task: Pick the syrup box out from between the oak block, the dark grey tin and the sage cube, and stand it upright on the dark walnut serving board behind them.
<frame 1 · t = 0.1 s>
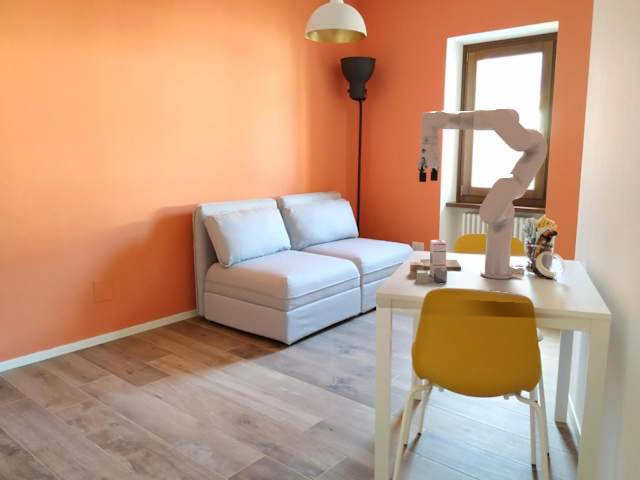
hand: (428, 181, 227), 37 cm above the table, tool pointing down, fingers open, 9 cm apart
sage cube: (422, 281, 204), on the table
syrup box: (437, 276, 214), on the table
walnut board: (440, 266, 230), on the table
grey tin: (440, 281, 204), on the table
oak block: (416, 275, 214), on the table
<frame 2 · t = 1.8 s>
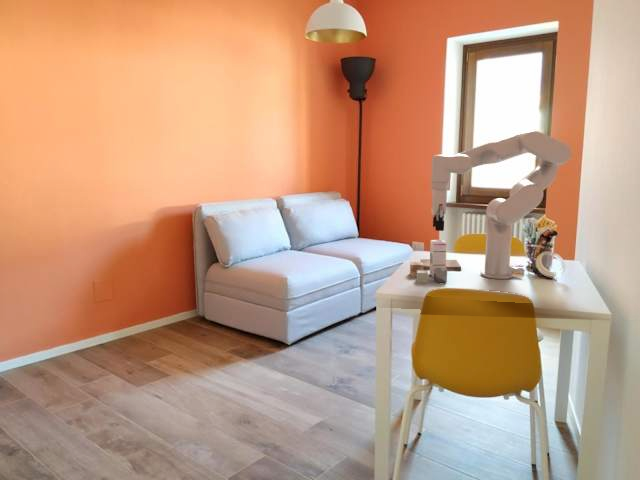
hand: (438, 228, 210), 19 cm above the table, tool pointing down, fingers open, 9 cm apart
nothing on the table moved.
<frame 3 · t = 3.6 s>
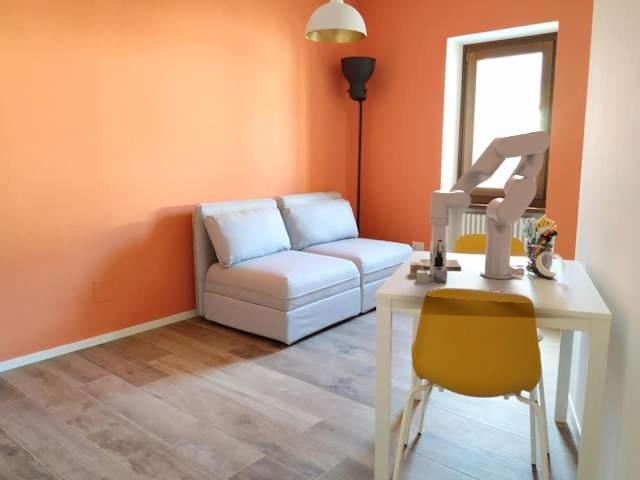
hand: (437, 264, 213), 5 cm above the table, tool pointing down, fingers closed on syrup box, 6 cm apart
syrup box: (437, 276, 214), on the table, touching gripper
everything else where it was.
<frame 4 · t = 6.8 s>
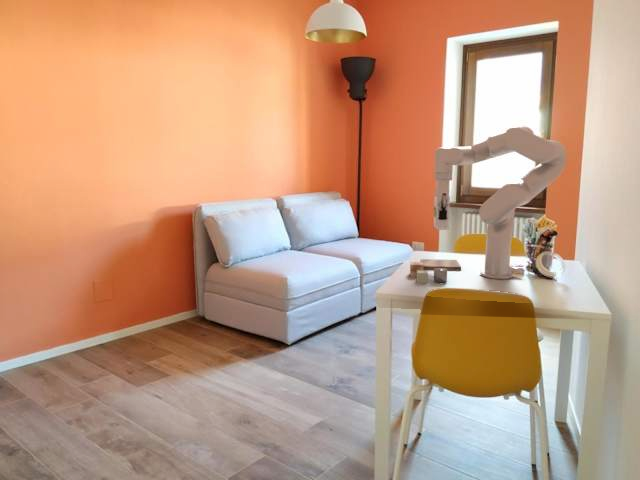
hand: (441, 218, 225), 22 cm above the table, tool pointing down, fingers closed on syrup box, 6 cm apart
syrup box: (440, 229, 226), point 17 cm above the table, touching gripper
everything else where it was.
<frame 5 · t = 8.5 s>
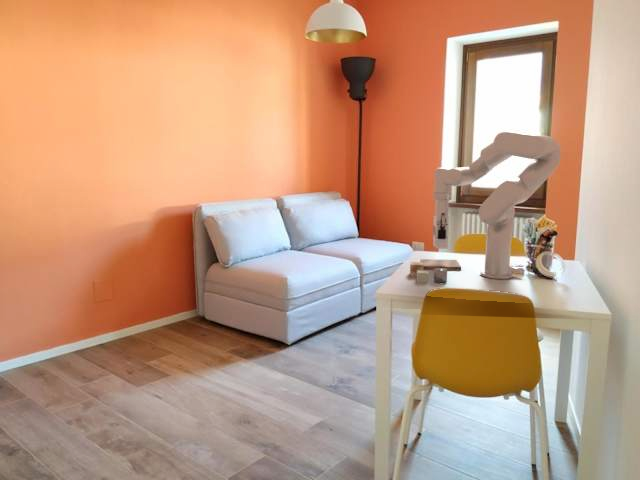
hand: (440, 237, 228), 13 cm above the table, tool pointing down, fingers closed on syrup box, 6 cm apart
syrup box: (440, 247, 228), point 8 cm above the table, touching gripper
everything else where it was.
when the fingers open (8 cm above the table, at t = 9.9 s): syrup box drops 2 cm, resting on walnut board.
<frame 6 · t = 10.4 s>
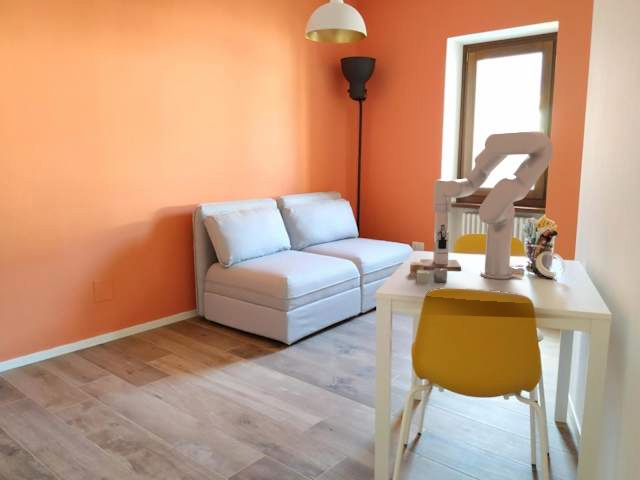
hand: (440, 246, 228), 9 cm above the table, tool pointing down, fingers open, 9 cm apart
syrup box: (440, 263, 229), point 1 cm above the table, touching walnut board
everything else where it was.
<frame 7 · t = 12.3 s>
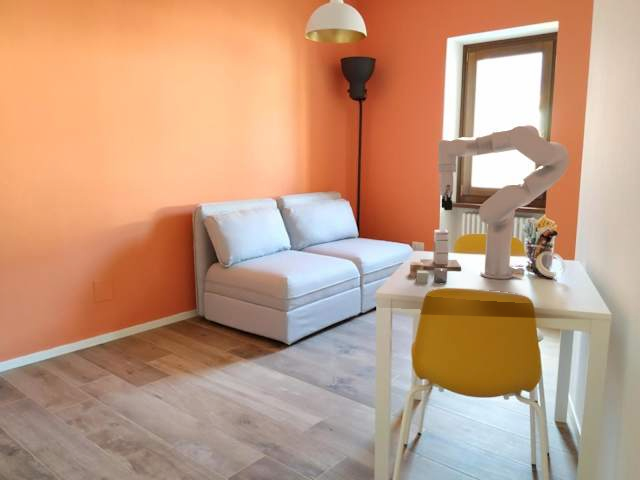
hand: (446, 208, 223), 26 cm above the table, tool pointing down, fingers open, 9 cm apart
nothing on the table moved.
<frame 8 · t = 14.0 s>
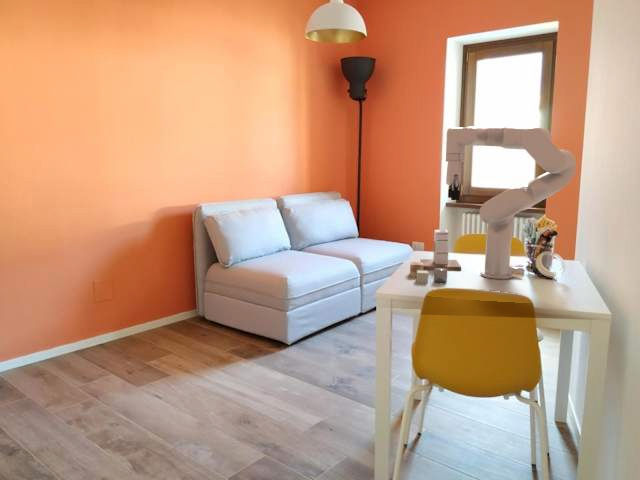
hand: (453, 198, 220), 30 cm above the table, tool pointing down, fingers open, 9 cm apart
nothing on the table moved.
at the end: syrup box inside the target area on the walnut board (0.1 cm from its centre), point 1.3 cm above the walnut board's base; syrup box tilted 0°; syrup box touching walnut board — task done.
